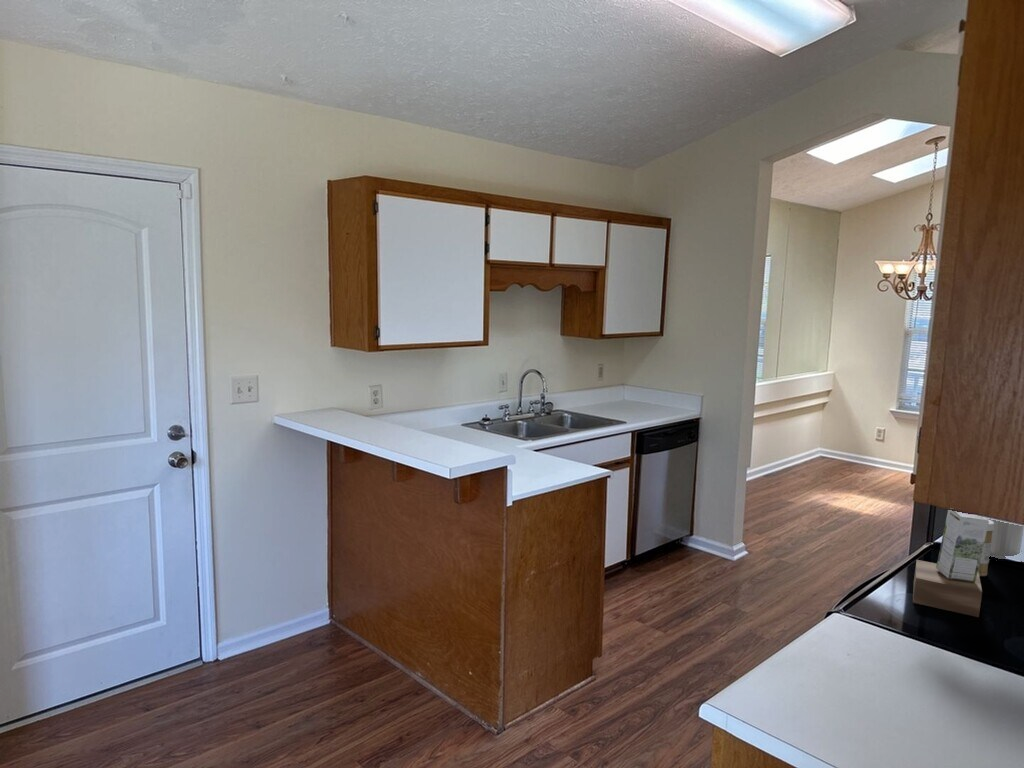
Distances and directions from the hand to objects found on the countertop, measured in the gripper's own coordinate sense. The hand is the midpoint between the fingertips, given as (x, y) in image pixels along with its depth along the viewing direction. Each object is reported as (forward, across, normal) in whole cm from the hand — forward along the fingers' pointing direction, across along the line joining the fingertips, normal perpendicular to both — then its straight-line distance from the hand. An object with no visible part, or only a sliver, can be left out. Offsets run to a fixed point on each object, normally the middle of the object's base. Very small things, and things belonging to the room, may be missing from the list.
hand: (958, 479), depth 148 cm
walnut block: (+28, 0, +1) cm, 28 cm away
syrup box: (+22, -2, 0) cm, 22 cm away
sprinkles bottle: (+28, -2, -22) cm, 35 cm away
